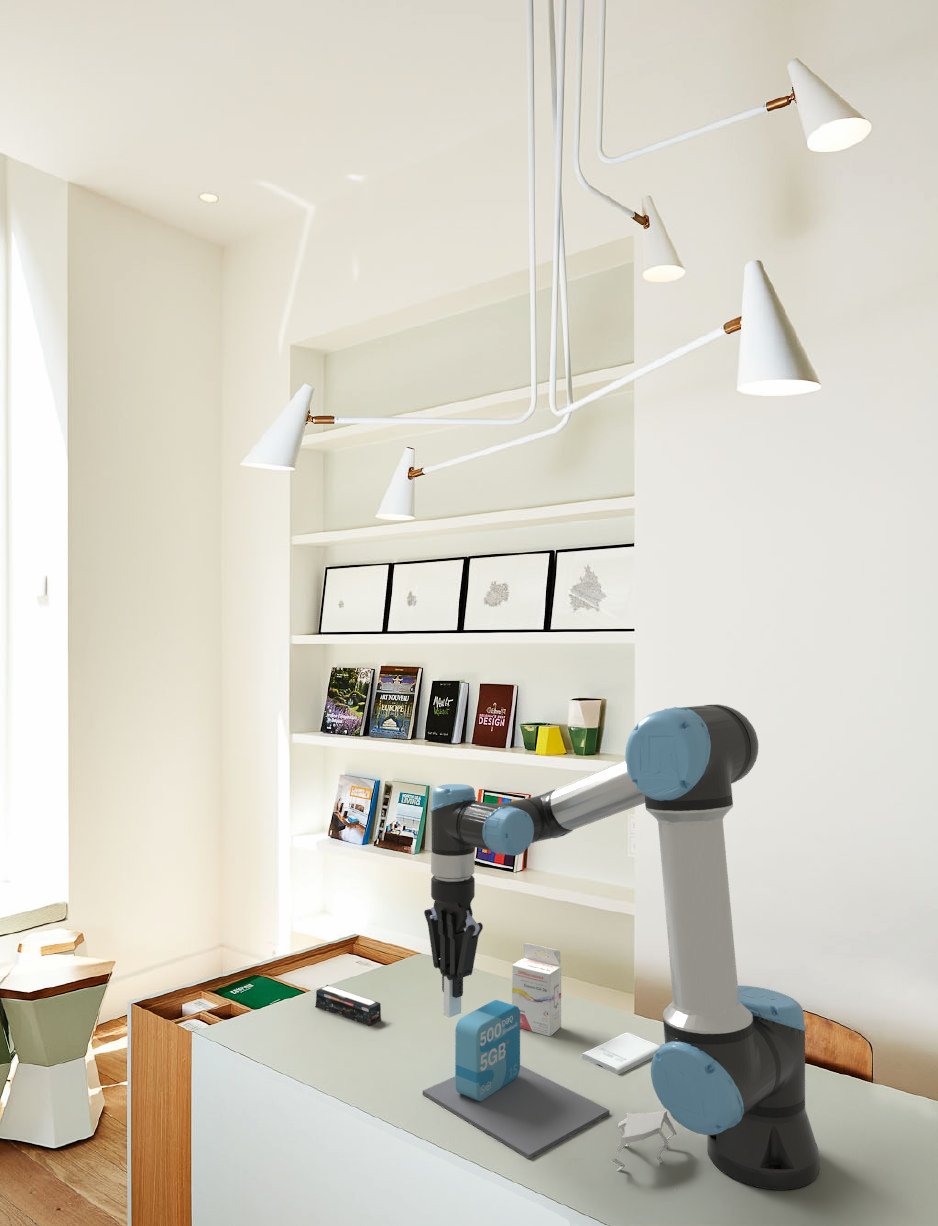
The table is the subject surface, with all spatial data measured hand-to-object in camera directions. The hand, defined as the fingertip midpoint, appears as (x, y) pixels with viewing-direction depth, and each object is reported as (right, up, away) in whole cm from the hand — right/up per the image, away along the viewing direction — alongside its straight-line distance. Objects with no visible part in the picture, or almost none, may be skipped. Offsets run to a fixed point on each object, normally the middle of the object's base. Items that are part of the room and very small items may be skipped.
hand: (452, 1013), depth 151 cm
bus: (-20, -11, +20) cm, 31 cm away
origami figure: (+27, -9, -26) cm, 39 cm away
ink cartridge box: (+16, -10, +17) cm, 25 cm away
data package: (+6, -9, -7) cm, 13 cm away
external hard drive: (+30, -11, +5) cm, 32 cm away
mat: (+10, -9, -11) cm, 18 cm away
